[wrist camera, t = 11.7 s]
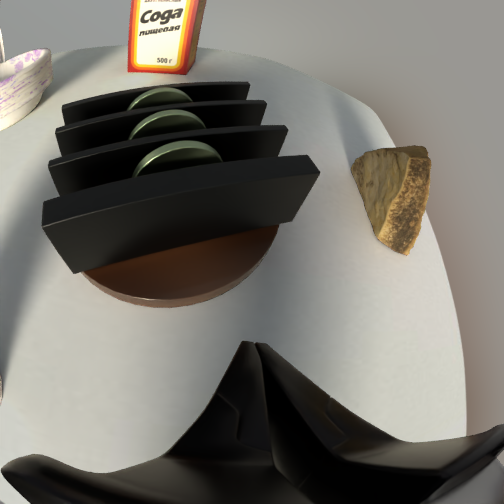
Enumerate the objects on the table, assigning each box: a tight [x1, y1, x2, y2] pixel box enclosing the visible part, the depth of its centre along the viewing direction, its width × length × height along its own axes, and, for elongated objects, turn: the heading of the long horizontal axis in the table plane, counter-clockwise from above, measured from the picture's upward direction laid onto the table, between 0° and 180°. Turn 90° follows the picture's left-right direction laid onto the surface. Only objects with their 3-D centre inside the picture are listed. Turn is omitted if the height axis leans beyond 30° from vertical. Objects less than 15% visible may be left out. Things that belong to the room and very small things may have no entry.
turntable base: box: [81, 224, 279, 308], centre depth 20 cm, size 18×18×2 cm
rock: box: [351, 145, 431, 255], centre depth 24 cm, size 11×9×10 cm
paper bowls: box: [0, 48, 53, 131], centre depth 19 cm, size 15×15×8 cm
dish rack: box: [41, 82, 320, 274], centre depth 17 cm, size 12×15×7 cm
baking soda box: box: [128, 0, 206, 75], centre depth 27 cm, size 10×6×16 cm
